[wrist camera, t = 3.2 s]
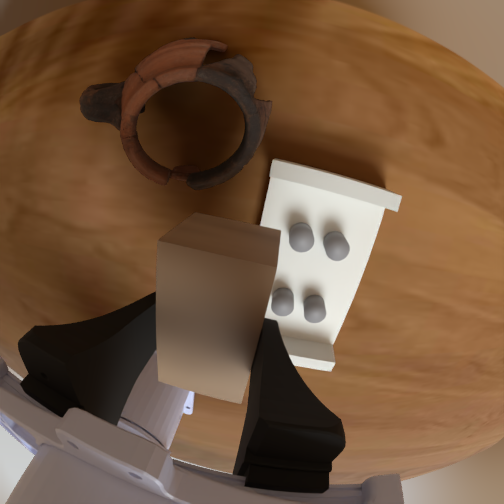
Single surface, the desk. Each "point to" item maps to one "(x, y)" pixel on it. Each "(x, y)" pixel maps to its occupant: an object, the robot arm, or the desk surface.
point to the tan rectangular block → (212, 302)
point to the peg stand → (319, 253)
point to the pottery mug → (172, 72)
